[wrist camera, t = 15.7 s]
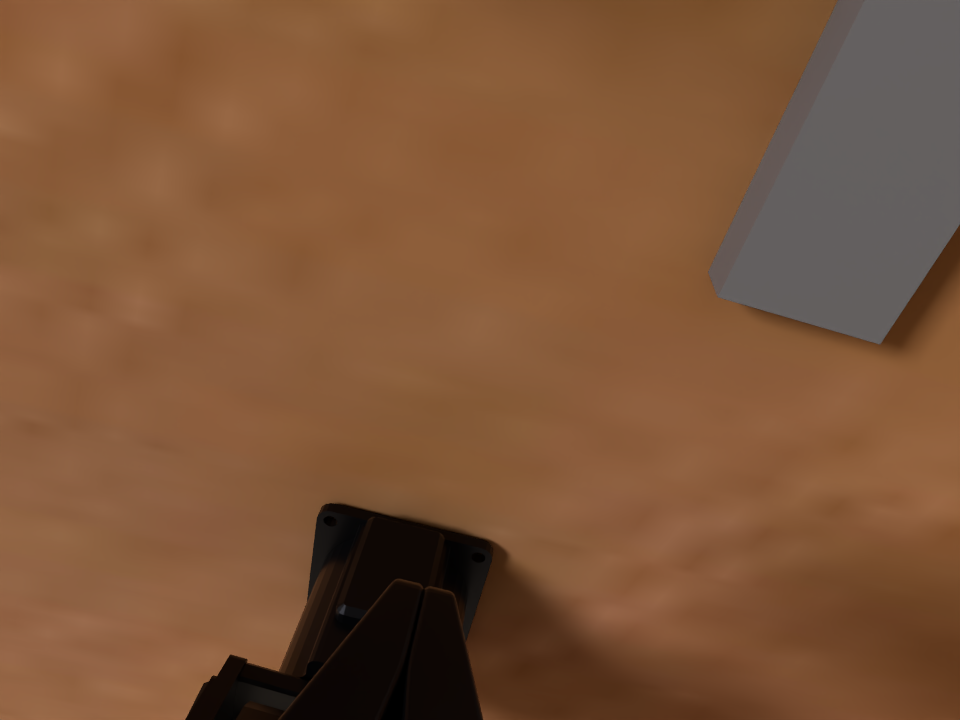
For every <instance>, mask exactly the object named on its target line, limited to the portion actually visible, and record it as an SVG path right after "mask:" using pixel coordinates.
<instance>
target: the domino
mask: <svg viewBox="0 0 960 720" xmlns="http://www.w3.org/2000/svg"><path fill="white" fill-rule="evenodd" d="M959 225H960V0H838V1H837V3H836V6H835V8H834V10H833V12H832V14H831V16H830V18H829V20H828V22H827V24H826V26H825V29H824V31H823V33H822V35H821V37H820V39H819V41H818V43H817V45H816V47H815V50H814V52H813V54H812V56H811V58H810V60H809V62H808V64H807V66H806V68H805V70H804V73H803V75H802V77H801V79H800V81H799V83H798V85H797V87H796V89H795V91H794V93H793V96H792V98H791V100H790V102H789V104H788V106H787V108H786V110H785V112H784V114H783V116H782V119H781V121H780V123H779V125H778V127H777V129H776V131H775V133H774V135H773V137H772V139H771V142H770V144H769V146H768V148H767V150H766V152H765V154H764V156H763V158H762V160H761V163H760V165H759V167H758V169H757V171H756V173H755V175H754V177H753V179H752V181H751V183H750V186H749V188H748V190H747V192H746V194H745V196H744V198H743V200H742V202H741V204H740V206H739V209H738V211H737V213H736V215H735V217H734V219H733V221H732V223H731V225H730V227H729V229H728V232H727V234H726V236H725V238H724V240H723V242H722V244H721V246H720V248H719V250H718V253H717V255H716V257H715V259H714V261H713V263H712V265H711V267H710V269H709V271H708V273H709V276H710V278H711V281H712V283H713V286H714V289H715V291H716V294H717V296H718V297H719V298H722V299H726V300H729V301H733V302H736V303H740V304H743V305H746V306H750V307H753V308H757V309H760V310H764V311H767V312H770V313H774V314H777V315H781V316H784V317H787V318H791V319H794V320H798V321H801V322H805V323H808V324H811V325H815V326H818V327H822V328H825V329H829V330H832V331H835V332H839V333H842V334H846V335H849V336H853V337H856V338H859V339H863V340H866V341H870V342H873V343H877V344H881V342H882V341H883V339H884V338H885V336H886V335H887V333H888V332H889V330H890V329H891V327H892V326H893V324H894V323H895V321H896V320H897V318H898V317H899V315H900V314H901V312H902V311H903V309H904V308H905V306H906V305H907V303H908V302H909V300H910V299H911V297H912V296H913V294H914V293H915V291H916V290H917V288H918V287H919V285H920V284H921V282H922V281H923V279H924V278H925V276H926V275H927V273H928V272H929V270H930V269H931V267H932V266H933V264H934V263H935V261H936V260H937V258H938V256H939V255H940V253H941V252H942V250H943V249H944V247H945V246H946V244H947V243H948V241H949V240H950V238H951V237H952V235H953V234H954V232H955V231H956V229H957V228H958V226H959Z"/></svg>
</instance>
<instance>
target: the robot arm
mask: <svg viewBox="0 0 960 720" xmlns="http://www.w3.org/2000/svg"><path fill="white" fill-rule="evenodd" d="M329 516H332V517H334V518H335V519H333V518H331V517H329ZM477 553H481V554H477ZM492 556H493V548H492V546H491V545H490V544H489V543H488V542H486V541H484V540H480V539H476V538H472V537H468V536H464V535H460V534H456V533H452V532H448V531H444V530H440V529H436V528H431V527H427V526H423V525H419V524H415V523H411V522H407V521H403V520H399V519H395V518H391V517H387V516H383V515H379V514H374V513H370V512H366V511H362V510H358V509H354V508H350V507H346V506H342V505H338V504H332V503H329V504H325V505H324V506H322V508H321V510H320V512H319V514H318V517H317V522H316V530H315V539H314V547H313V556H312V564H311V572H310V581H309V589H308V598H307V604H306V606H305V609H304V611H303V614H302V616H301V619H300V621H299V623H298V626H297V628H296V631H295V633H294V636H293V638H292V640H291V643H290V645H289V648H288V650H287V653H286V655H285V657H284V660H283V662H282V665H281V667H280V670H279V672H278V671H275V670H271V669H268V668H264V667H261V666H257V665H254V664H251V663H247V659H245V658H241V657H238V656H234V655H230V656H229V657H228V659H227V661H226V662H225V664H224V666H223V667H222V669H221V671H220V672H219V674H218V676H212V677H211V679H210V681H209V682H206V683H204V684H203V686H202V688H201V690H200V692H199V694H198V696H197V698H196V700H195V702H194V704H193V706H192V708H191V710H190V712H189V714H188V716H187V717H186V719H185V720H483V716H482V712H481V708H480V703H479V699H478V694H477V690H476V686H475V681H474V677H473V672H472V668H471V664H470V659H469V655H468V650H467V646H466V639H467V636H468V633H469V630H470V627H471V624H472V621H473V618H474V615H475V611H476V608H477V605H478V602H479V599H480V596H481V593H482V590H483V587H484V583H485V580H486V577H487V574H488V571H489V568H490V565H491V562H492Z"/></svg>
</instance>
